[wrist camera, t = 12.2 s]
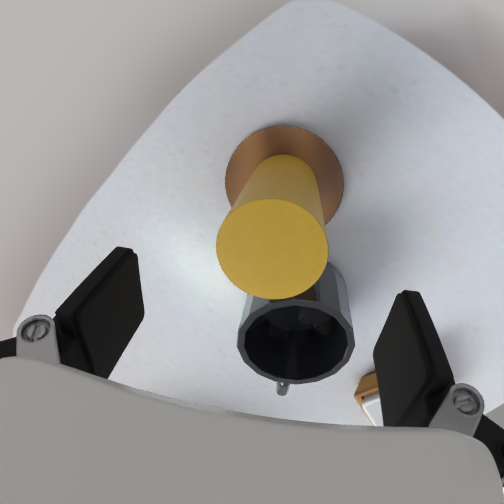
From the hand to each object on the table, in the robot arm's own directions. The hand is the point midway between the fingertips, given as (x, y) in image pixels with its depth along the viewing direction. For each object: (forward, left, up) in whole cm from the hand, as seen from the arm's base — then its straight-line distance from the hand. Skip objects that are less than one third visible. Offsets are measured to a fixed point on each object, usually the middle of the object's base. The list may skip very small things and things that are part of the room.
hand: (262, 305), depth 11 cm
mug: (+4, +13, -18) cm, 22 cm away
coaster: (0, 0, -18) cm, 18 cm away
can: (0, +1, -17) cm, 17 cm away
